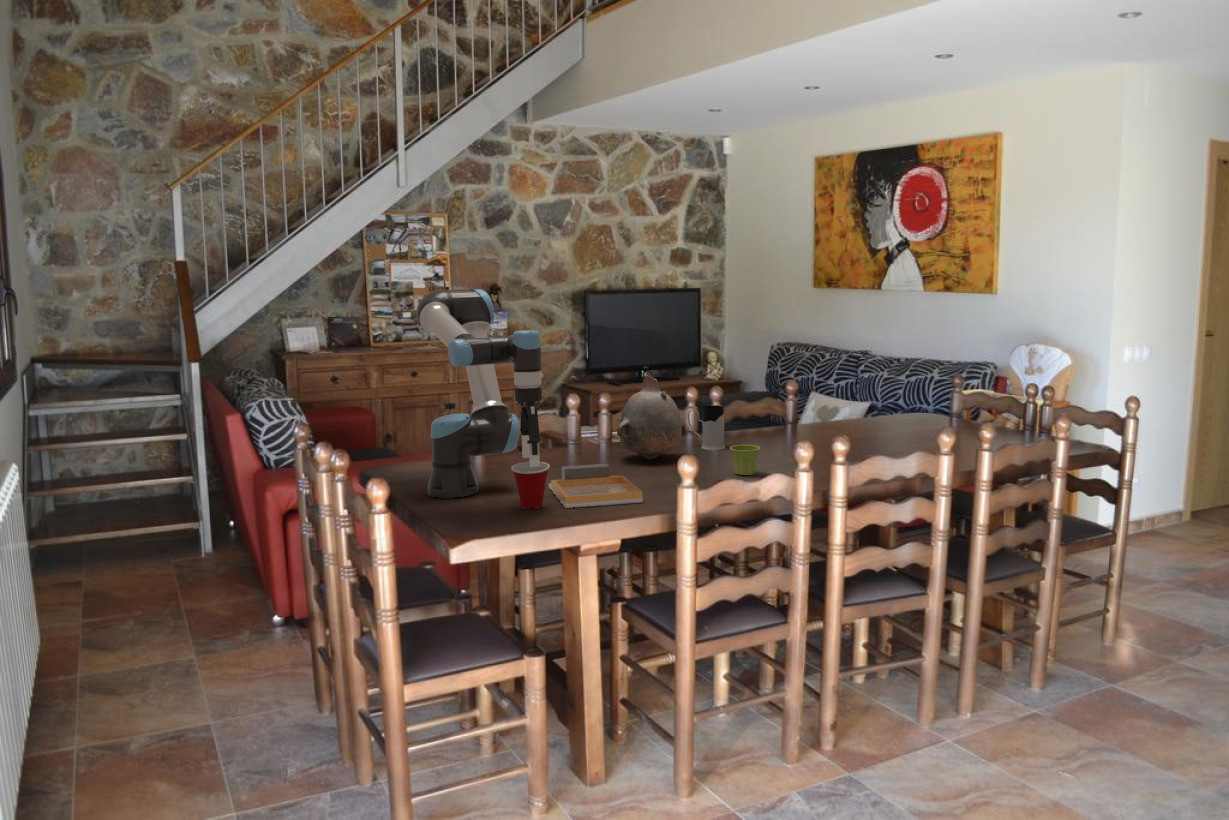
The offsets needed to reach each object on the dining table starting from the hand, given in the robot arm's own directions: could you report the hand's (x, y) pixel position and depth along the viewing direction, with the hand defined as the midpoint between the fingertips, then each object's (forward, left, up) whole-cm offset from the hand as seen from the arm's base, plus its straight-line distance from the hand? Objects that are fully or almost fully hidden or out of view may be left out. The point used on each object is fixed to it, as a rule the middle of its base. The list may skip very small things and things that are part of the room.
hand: (530, 462), depth 281 cm
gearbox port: (+20, +10, -13) cm, 26 cm away
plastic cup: (0, 0, -13) cm, 13 cm away
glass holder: (+75, +69, -13) cm, 103 cm away
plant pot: (+72, +22, -13) cm, 76 cm away
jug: (+50, +54, -13) cm, 75 cm away
